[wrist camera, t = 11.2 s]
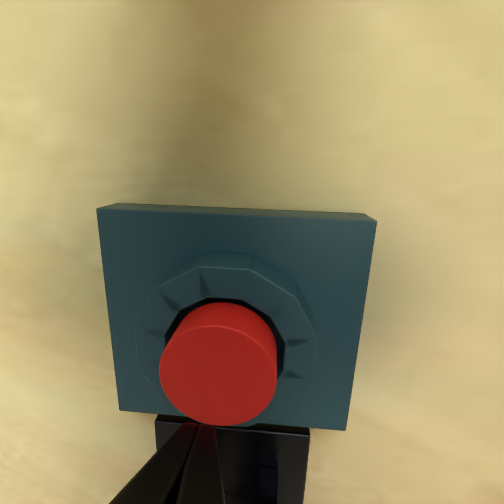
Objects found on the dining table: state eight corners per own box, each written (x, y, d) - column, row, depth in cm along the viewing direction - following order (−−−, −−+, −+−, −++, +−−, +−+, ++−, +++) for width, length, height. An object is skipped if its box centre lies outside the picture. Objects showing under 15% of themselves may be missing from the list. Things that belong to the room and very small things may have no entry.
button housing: (339, 404, 16) (355, 468, 13) (134, 386, 17) (98, 443, 13) (364, 213, 13) (395, 231, 10) (117, 202, 14) (65, 215, 10)
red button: (274, 395, 12) (273, 431, 11) (176, 387, 13) (161, 421, 11) (279, 305, 11) (280, 330, 9) (172, 298, 11) (154, 321, 10)
